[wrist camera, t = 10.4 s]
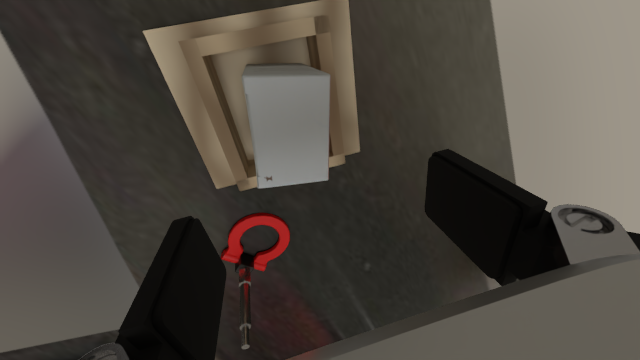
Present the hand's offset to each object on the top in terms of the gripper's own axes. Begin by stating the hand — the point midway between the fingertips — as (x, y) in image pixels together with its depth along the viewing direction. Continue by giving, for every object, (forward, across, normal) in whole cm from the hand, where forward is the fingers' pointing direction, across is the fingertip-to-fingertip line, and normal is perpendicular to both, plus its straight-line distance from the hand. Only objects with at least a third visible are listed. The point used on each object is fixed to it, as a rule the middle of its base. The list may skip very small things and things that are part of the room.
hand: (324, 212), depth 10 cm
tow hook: (+20, +8, +17) cm, 28 cm away
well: (+20, +1, -1) cm, 20 cm away
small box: (+19, 0, -1) cm, 19 cm away
